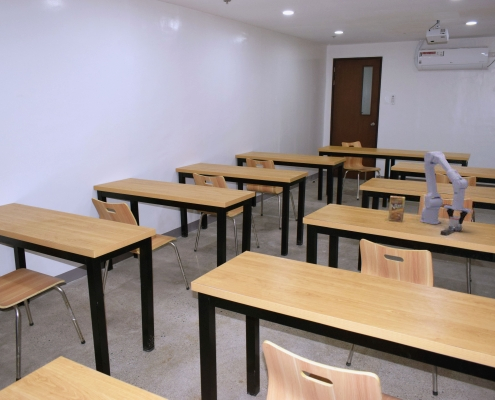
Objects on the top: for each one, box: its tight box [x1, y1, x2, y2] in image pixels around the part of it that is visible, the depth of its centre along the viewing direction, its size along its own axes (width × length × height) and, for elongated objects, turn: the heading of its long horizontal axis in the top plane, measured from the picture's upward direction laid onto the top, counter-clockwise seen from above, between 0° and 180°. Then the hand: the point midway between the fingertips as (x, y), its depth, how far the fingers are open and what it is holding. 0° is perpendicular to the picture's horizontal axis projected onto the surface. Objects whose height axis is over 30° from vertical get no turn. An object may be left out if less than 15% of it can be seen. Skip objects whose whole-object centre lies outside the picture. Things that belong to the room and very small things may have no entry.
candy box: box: [387, 195, 406, 223], centre depth 273 cm, size 9×4×15 cm, turn 70°
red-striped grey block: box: [448, 215, 463, 228], centre depth 253 cm, size 5×5×6 cm
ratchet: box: [439, 225, 463, 236], centre depth 250 cm, size 7×19×5 cm, turn 132°
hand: (455, 222), depth 253 cm, fingers closed on red-striped grey block, 5 cm apart
